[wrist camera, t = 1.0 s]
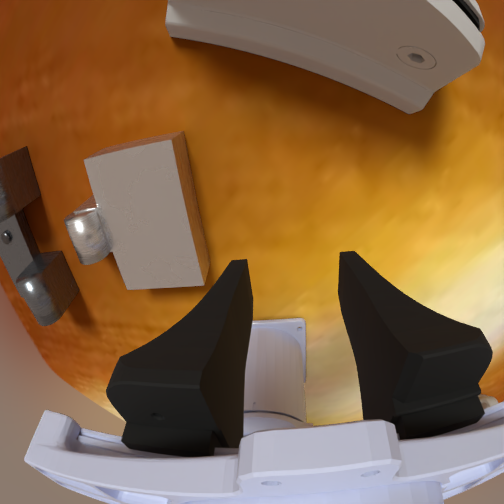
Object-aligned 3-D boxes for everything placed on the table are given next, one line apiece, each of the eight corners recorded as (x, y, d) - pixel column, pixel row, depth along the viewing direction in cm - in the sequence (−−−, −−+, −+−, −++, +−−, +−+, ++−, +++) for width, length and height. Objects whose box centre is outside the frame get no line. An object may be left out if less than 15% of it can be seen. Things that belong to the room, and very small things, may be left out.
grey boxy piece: (210, 261, 24) (200, 300, 20) (109, 269, 25) (86, 304, 21) (184, 130, 19) (162, 145, 15) (71, 157, 20) (36, 178, 16)
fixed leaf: (79, 290, 26) (54, 326, 22) (27, 291, 27) (3, 321, 23) (26, 146, 19) (-16, 166, 15) (-23, 169, 20) (-58, 190, 15)
